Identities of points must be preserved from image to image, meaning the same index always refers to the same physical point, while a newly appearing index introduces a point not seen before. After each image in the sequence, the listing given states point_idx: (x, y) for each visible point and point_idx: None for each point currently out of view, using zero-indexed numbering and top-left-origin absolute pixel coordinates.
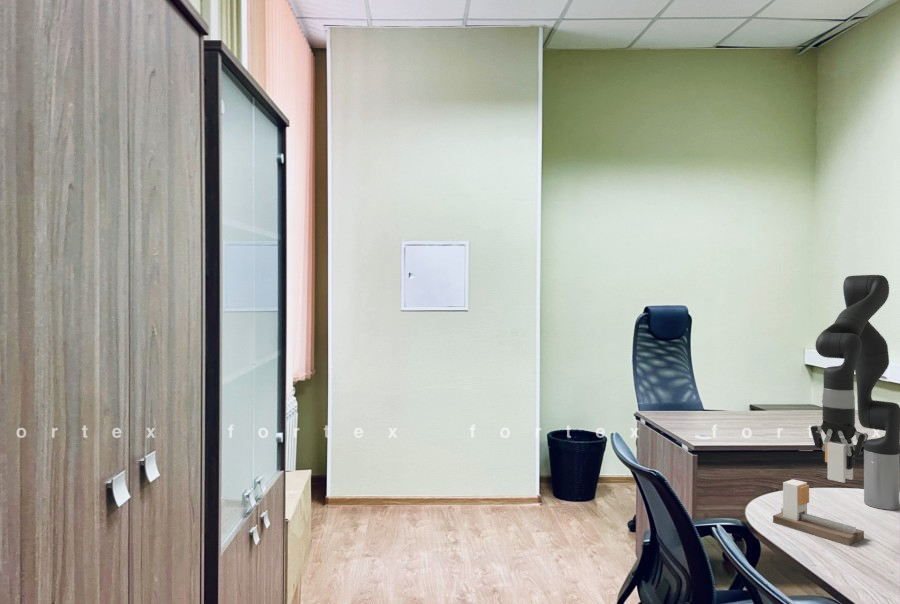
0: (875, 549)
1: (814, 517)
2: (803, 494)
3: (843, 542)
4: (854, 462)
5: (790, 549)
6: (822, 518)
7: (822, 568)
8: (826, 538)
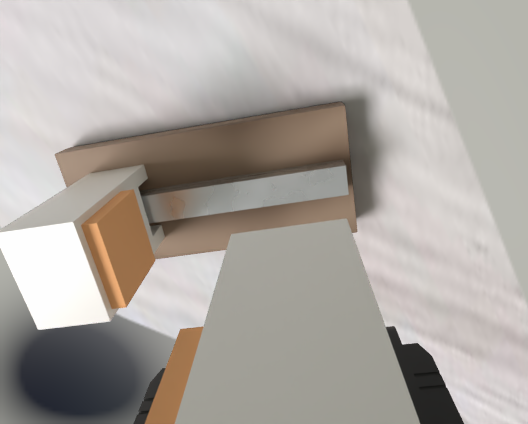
0: (413, 163)
1: (199, 207)
2: (131, 261)
3: None
4: (445, 391)
5: None
6: (219, 189)
7: None
8: None
